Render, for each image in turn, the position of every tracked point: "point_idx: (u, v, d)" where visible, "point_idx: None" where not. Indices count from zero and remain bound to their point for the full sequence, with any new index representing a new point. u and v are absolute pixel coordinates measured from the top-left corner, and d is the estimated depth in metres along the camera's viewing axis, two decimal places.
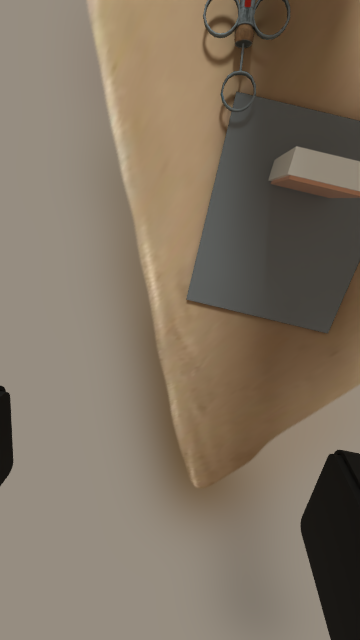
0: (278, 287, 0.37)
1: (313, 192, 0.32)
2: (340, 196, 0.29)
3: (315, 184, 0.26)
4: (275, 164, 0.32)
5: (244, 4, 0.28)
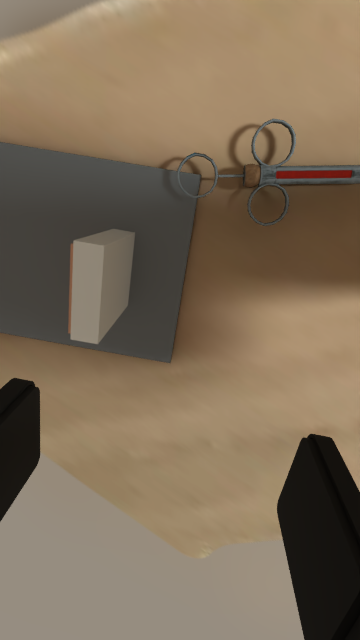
0: None
1: None
2: None
3: (70, 276, 0.21)
4: (124, 233, 0.27)
5: (279, 171, 0.25)
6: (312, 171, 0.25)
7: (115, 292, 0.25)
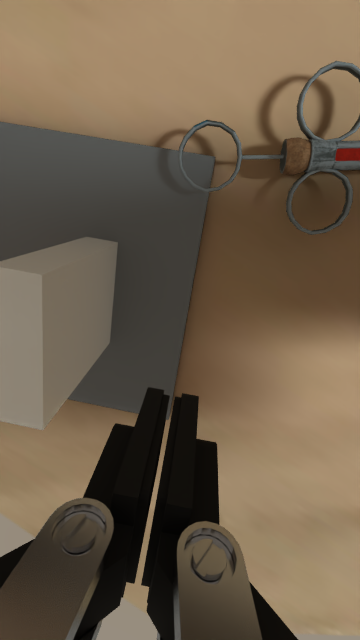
0: None
1: None
2: None
3: None
4: (99, 244, 0.18)
5: (341, 148, 0.15)
6: None
7: (81, 337, 0.16)
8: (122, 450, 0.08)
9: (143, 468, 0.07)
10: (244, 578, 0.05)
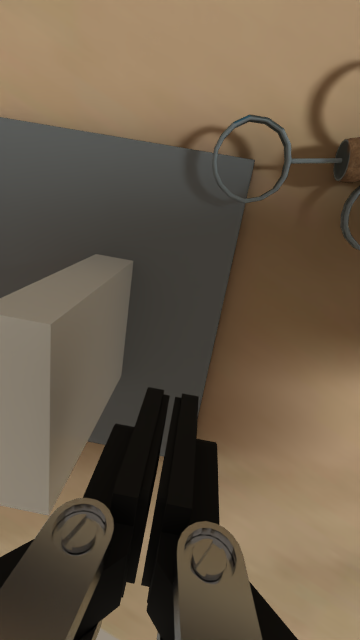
0: None
1: None
2: None
3: None
4: (113, 264, 0.15)
5: None
6: None
7: (93, 383, 0.13)
8: (122, 450, 0.08)
9: (143, 468, 0.07)
10: (244, 578, 0.05)
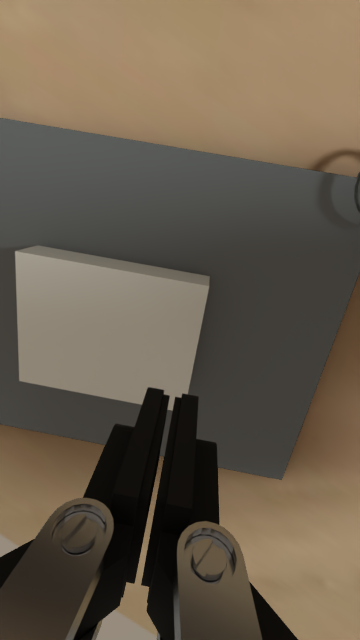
0: (13, 322, 0.18)
1: None
2: None
3: None
4: (174, 276, 0.15)
5: None
6: None
7: (90, 347, 0.16)
8: (122, 449, 0.08)
9: (143, 468, 0.07)
10: (244, 578, 0.05)
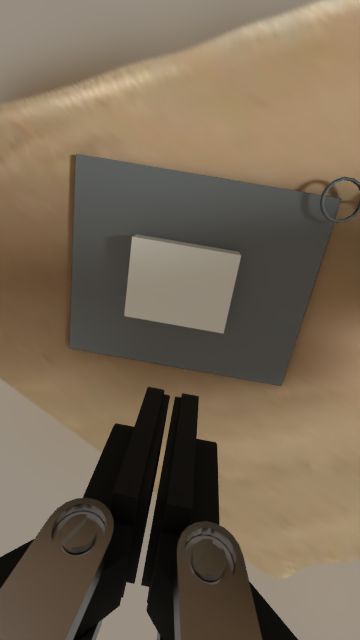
0: (115, 282, 0.30)
1: None
2: None
3: None
4: (221, 250, 0.26)
5: None
6: None
7: (170, 293, 0.27)
8: (122, 449, 0.08)
9: (143, 468, 0.07)
10: (244, 578, 0.05)
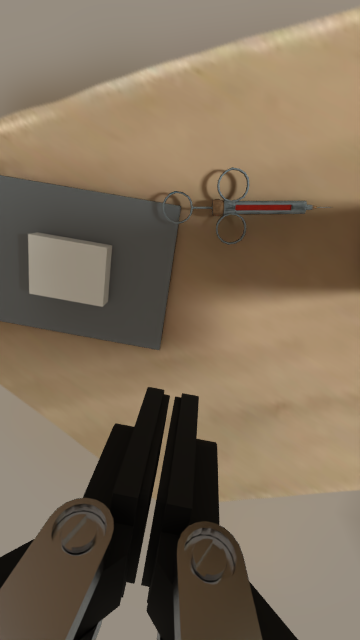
0: (25, 269, 0.39)
1: None
2: None
3: None
4: (94, 244, 0.35)
5: (237, 204, 0.33)
6: (262, 205, 0.33)
7: (60, 276, 0.37)
8: (122, 449, 0.08)
9: (143, 468, 0.07)
10: (244, 579, 0.05)
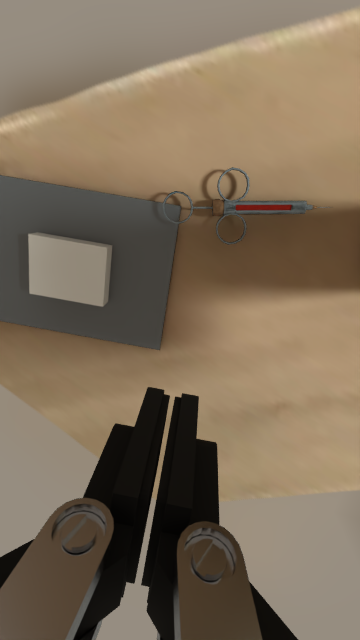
0: (26, 269, 0.39)
1: None
2: None
3: None
4: (94, 244, 0.35)
5: (238, 205, 0.33)
6: (262, 205, 0.33)
7: (60, 276, 0.37)
8: (122, 449, 0.08)
9: (143, 468, 0.07)
10: (244, 578, 0.05)
